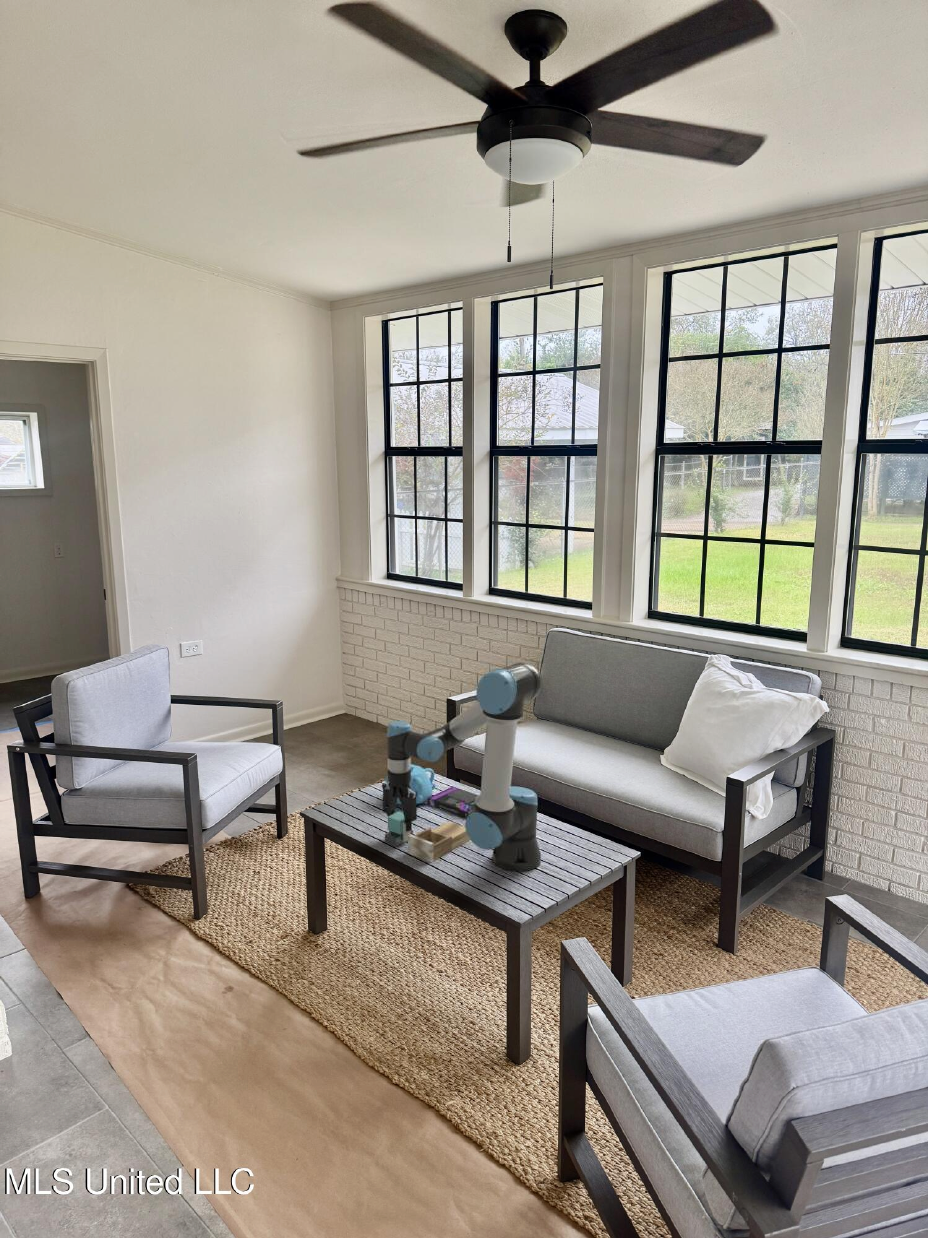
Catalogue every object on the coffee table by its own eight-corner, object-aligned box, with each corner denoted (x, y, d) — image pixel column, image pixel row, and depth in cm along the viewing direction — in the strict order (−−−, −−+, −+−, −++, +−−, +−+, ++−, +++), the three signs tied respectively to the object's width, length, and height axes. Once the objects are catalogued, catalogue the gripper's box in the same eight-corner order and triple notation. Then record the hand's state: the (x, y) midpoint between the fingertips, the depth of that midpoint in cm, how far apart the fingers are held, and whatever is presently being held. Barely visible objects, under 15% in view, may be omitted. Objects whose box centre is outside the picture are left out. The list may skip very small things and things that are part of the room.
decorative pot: (401, 789, 307) (401, 754, 305) (439, 796, 301) (439, 761, 298) (379, 804, 293) (379, 768, 290) (418, 812, 286) (418, 776, 284)
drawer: (471, 840, 266) (471, 823, 264) (430, 862, 250) (431, 844, 249) (448, 831, 271) (448, 815, 270) (407, 853, 256) (408, 835, 255)
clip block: (411, 828, 264) (411, 815, 263) (400, 834, 260) (400, 821, 259) (399, 824, 267) (399, 811, 267) (387, 829, 263) (387, 816, 262)
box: (427, 806, 294) (468, 821, 281) (427, 797, 293) (468, 811, 281) (452, 794, 304) (493, 808, 292) (452, 786, 304) (493, 799, 291)
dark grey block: (412, 838, 266) (413, 830, 265) (396, 847, 260) (396, 838, 259) (401, 834, 269) (401, 825, 268) (385, 842, 263) (385, 833, 262)
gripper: (428, 772, 257) (428, 841, 261) (386, 759, 269) (387, 825, 273) (412, 779, 251) (413, 849, 255) (370, 766, 263) (371, 833, 267)
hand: (399, 837), depth 264 cm, fingers closed on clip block, 5 cm apart
